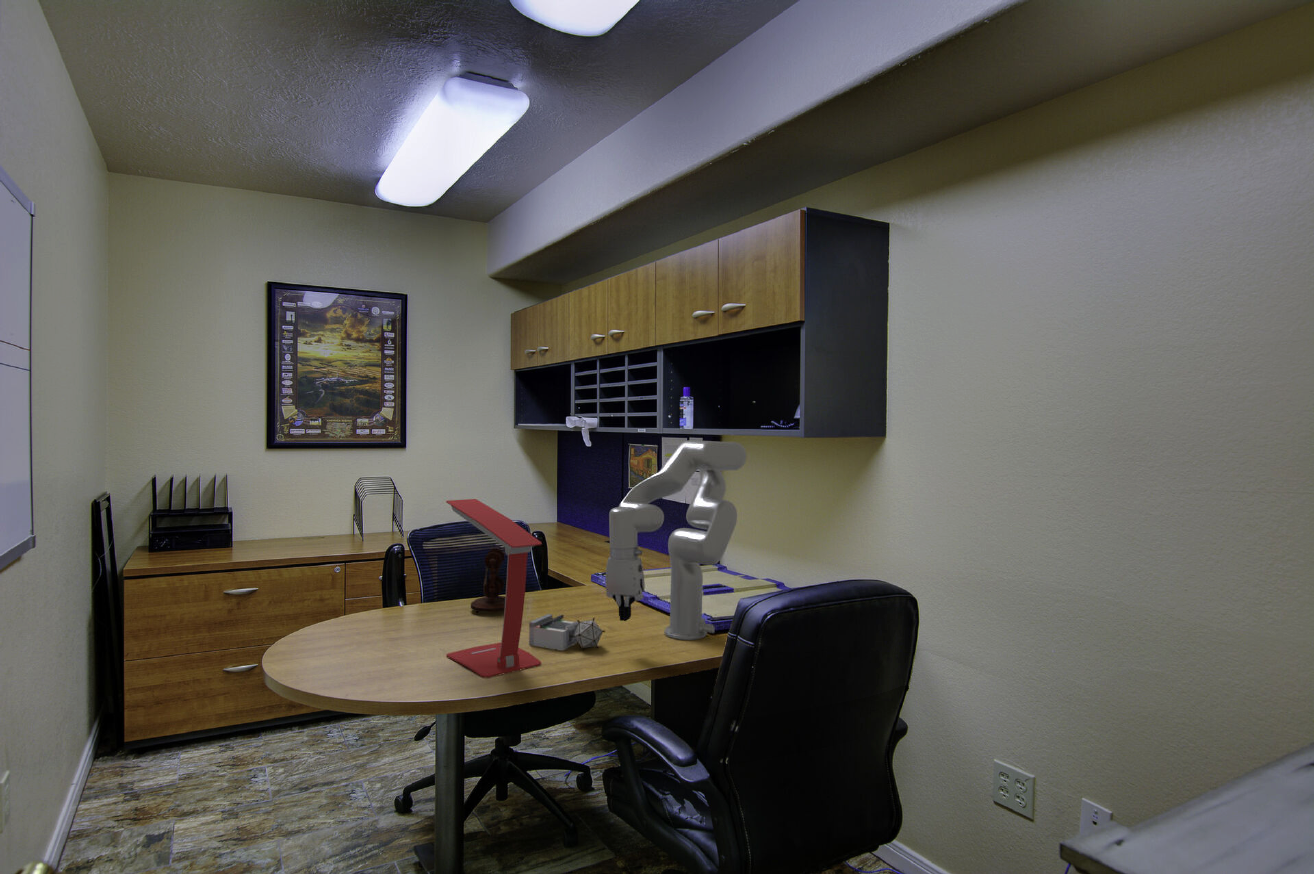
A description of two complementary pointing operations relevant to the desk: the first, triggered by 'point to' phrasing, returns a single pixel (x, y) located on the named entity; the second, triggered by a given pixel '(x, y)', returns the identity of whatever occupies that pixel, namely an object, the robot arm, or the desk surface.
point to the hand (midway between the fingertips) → (625, 619)
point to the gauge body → (548, 633)
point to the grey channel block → (569, 629)
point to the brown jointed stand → (491, 585)
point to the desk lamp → (516, 547)
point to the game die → (587, 634)
